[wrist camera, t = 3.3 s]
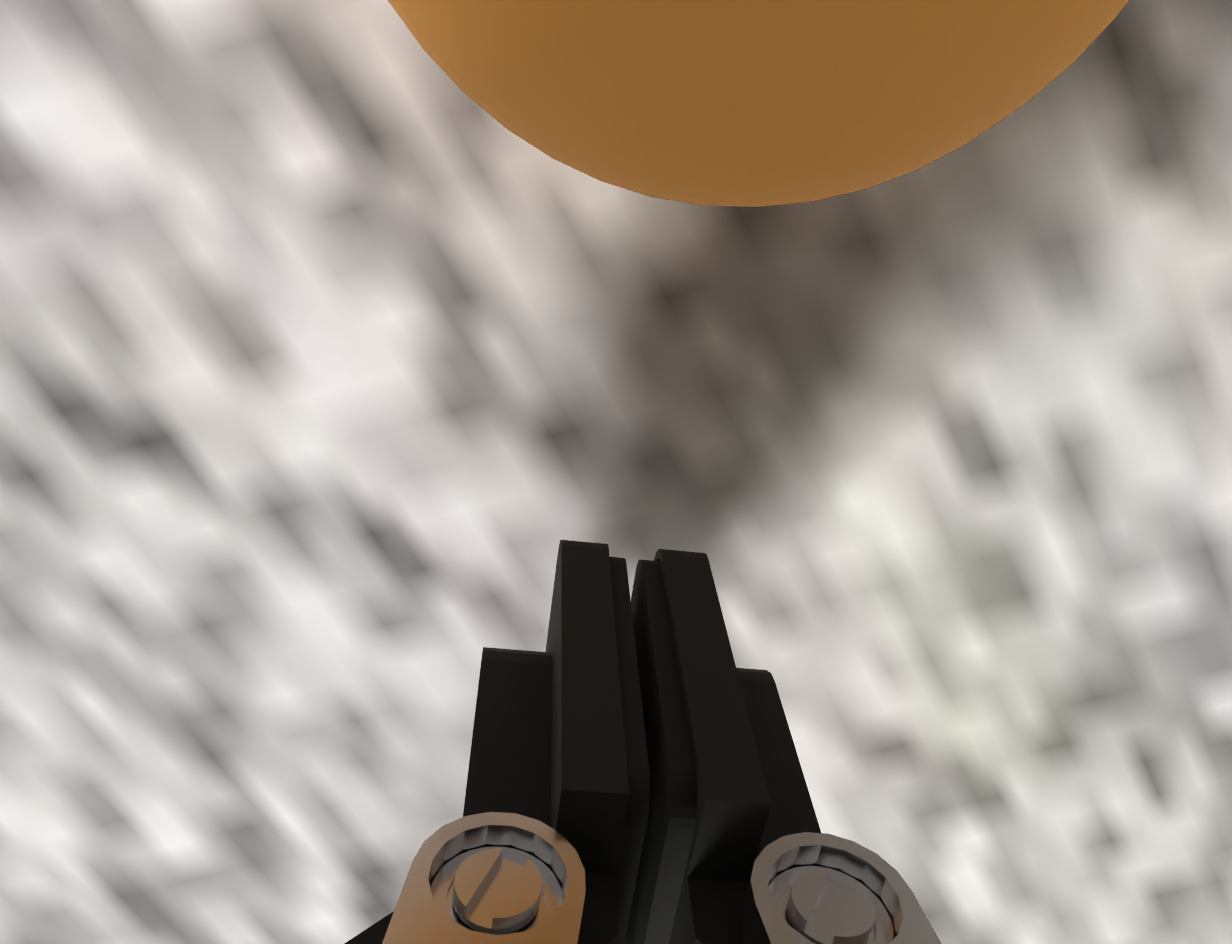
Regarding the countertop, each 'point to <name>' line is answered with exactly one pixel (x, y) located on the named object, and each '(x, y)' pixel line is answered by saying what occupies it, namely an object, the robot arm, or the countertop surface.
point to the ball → (752, 84)
